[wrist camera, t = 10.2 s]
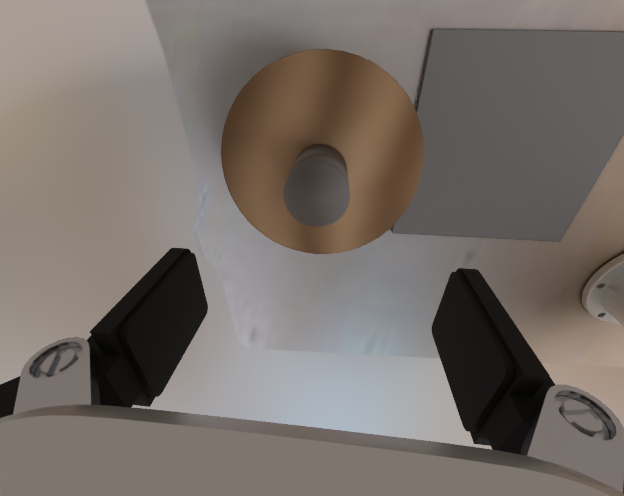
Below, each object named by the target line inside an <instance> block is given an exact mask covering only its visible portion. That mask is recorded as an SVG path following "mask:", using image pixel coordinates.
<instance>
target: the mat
mask: <svg viewBox="0 0 624 496" xmlns="http://www.w3.org/2000/svg"><path fill="white" fill-rule="evenodd" d="M416 113H417V115H418V118H419V121H420V124H421V128H422V133H423V139H424V165H423V170H422V175H421V179H420V182H419V185H418V188H417V191H416V193H415V195H414V197H413V199H412V202H411V203H410V205H409V206H408V208H407V209H406V211H405V212H404V214H403V215H402V216H401V217H400V219H399V220H398V221H397V222H396V223H395V224H394V225H393V228H392V233H402V234H422V235H441V236H461V237H480V238H499V239H519V240H538V241H558V242H560V241H561V239H562V238H563V236H564V234H565V233H566V231H567V229H568V228H569V226H570V224H571V222H572V221H573V219H574V217H575V216H576V214H577V212H578V211H579V209H580V207H581V206H582V204H583V202H584V201H585V199H586V197H587V196H588V194H589V192H590V191H591V189H592V187H593V185H594V184H595V182H596V180H597V179H598V177H599V175H600V174H601V172H602V170H603V169H604V167H605V165H606V164H607V162H608V160H609V159H610V157H611V155H612V154H613V152H614V150H615V148H616V147H617V145H618V143H619V142H620V140H621V138H622V137H623V135H624V32H585V31H521V30H457V29H433V30H432V34H431V39H430V44H429V49H428V54H427V59H426V64H425V69H424V74H423V79H422V84H421V89H420V94H419V98H418V103H417V108H416Z"/></svg>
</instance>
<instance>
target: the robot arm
mask: <svg viewBox="0 0 624 496" xmlns="http://www.w3.org/2000/svg"><path fill="white" fill-rule="evenodd" d="M582 304H583V306H584V308H585V309H586V310H587V311H588V312H589V313H590V314H591V315H592V316H593V317H594V318H596V319H598V320H600V321H603V322H607V323H612V324H622V325H623V326H624V254H621V255H620V256H618V257H616V258H614V259H613V260H611V261H609V262H608V263H607V264H605V265H604V266H603V267H601V268H600V269H599V270H598V271H597V272H596V273H595V274H594V275H593V276H592V277H591V278H590V280H589V281H588V282H587V284H586V286H585V288H584V290H583V294H582ZM207 309H208V305H207V301H206V297H205V293H204V289H203V285H202V281H201V277H200V273H199V269H198V265H197V261H196V257H195V255H194V253H191V251H190V250H189V249H182V248H171V249H170V250H169V251H168V252H167V253H166V254H165V255H164V256H163V257H162V258H161V259H160V260H159V261H158V262H157V264H155V265H154V266H153V267H152V268H151V270H150V271H149V272H148V273H147V274H146V275H145V276H144V277H143V278H142V279H141V280H140V281H139V282H138V283H137V284H136V285H135V286H134V287H133V288H132V289H131V290H130V291H129V292H128V293H127V294H126V295H125V296H124V297H123V298H122V299H121V300H120V301H119V302H118V303H117V304H116V305H115V307H113V308H112V309H111V311H110V312H108V314H107V315H106V316H105V317H104V318H103V319H102V320H101V321H100V322H99V323H98V324H97V325H96V326H95V327H94V328H93V329H92V330H91V331H90V333H91V334H92V335H91V336H90V337H89V338H88V340H87V341H86V340H85V339H84V338H78V337H73V338H66V339H62V340H59V341H56V342H54V343H52V344H50V345H48V346H46V347H44V348H43V349H41V350H40V351H38V352H37V353H36V354H35V355H33V356H32V357H31V358H30V359H29V361H28V362H27V363H26V364H25V365H24V368H23V370H22V372H21V376H20V377H17V378H15V379H12V380H10V381H8V382H6V383H3V384H1V385H0V496H624V428H623V426H622V424H621V423H620V421H619V419H618V418H617V417H616V416H615V415H614V413H613V412H612V411H611V410H610V409H609V408H608V407H606V405H604V404H603V403H602V402H601V401H600V400H598V399H597V398H595V397H593V396H592V395H590V394H589V393H587V392H585V391H583V390H580V389H578V388H576V387H572V386H568V385H555V384H554V383H553V381H552V379H551V378H550V376H549V374H548V373H547V371H546V370H545V368H544V367H543V365H542V364H541V362H540V361H539V359H538V358H537V356H536V355H535V353H534V352H533V350H532V349H531V347H530V346H529V344H528V343H527V342H526V340H525V339H524V337H523V336H522V334H521V333H520V331H519V330H518V328H517V327H516V325H515V324H514V322H513V321H512V319H511V318H510V316H509V315H508V313H507V312H506V310H505V309H504V307H503V306H502V304H501V303H500V301H499V300H498V299H497V297H496V296H495V294H494V293H493V291H492V290H491V288H490V287H489V285H488V284H487V282H486V281H485V279H484V278H483V276H482V275H481V273H480V272H479V271H478V270H476V269H463V268H459V269H458V270H457V271H456V272H452V273H451V275H450V278H449V280H448V283H447V286H446V289H445V291H444V294H443V297H442V300H441V302H440V305H439V308H438V311H437V313H436V316H435V319H434V322H433V325H432V334H433V338H434V341H435V344H436V347H437V350H438V353H439V356H440V359H441V361H442V364H443V367H444V370H445V373H446V376H447V379H448V382H449V385H450V388H451V391H452V394H453V397H454V400H455V403H456V406H457V409H458V412H459V415H460V418H461V421H462V424H463V426H464V428H465V430H466V431H470V433H471V436H472V439H473V442H474V444H481V445H490V446H491V447H492V450H490V449H483V448H475V447H469V446H461V445H454V444H447V443H439V442H431V441H423V440H415V439H407V438H398V437H390V436H382V435H373V434H365V433H357V432H348V431H340V430H331V429H322V428H314V427H305V426H297V425H288V424H279V423H271V422H262V421H253V420H243V419H235V418H226V417H216V416H208V415H198V414H189V413H180V412H171V411H162V410H151V409H141V408H131V407H132V405H133V404H134V405H140V406H150V405H151V404H152V402H153V400H154V398H155V397H157V396H159V395H160V394H161V393H162V392H163V390H164V388H165V386H166V385H167V383H168V381H169V379H170V378H171V376H172V374H173V372H174V370H175V369H176V367H177V365H178V364H179V362H180V360H181V358H182V356H183V354H184V353H185V351H186V349H187V347H188V346H189V344H190V342H191V340H192V339H193V337H194V335H195V333H196V332H197V330H198V328H199V326H200V325H201V323H202V321H203V319H204V318H205V316H206V313H207Z"/></svg>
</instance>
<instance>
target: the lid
mask: <svg viewBox="0 0 624 496" xmlns="http://www.w3.org/2000/svg"><path fill="white" fill-rule="evenodd" d="M221 157H222V167H223V172H224V177H225V181H226V184H227V187H228V190H229V192H230V194H231V196H232V198H233V200H234V202H235V204H236V205H237V207H238V208H239V210H240V211H241V213H242V214H243V215H244V216H245V218H246V219H247V220H248V221H249V222H250V223H251V224H252V225H253V226H254V227H255V228H256V229H257V230H258V231H260V232H261V233H262V234H263V235H265V236H266V237H268V238H270V239H271V240H273V241H274V242H277V243H279V244H281V245H283V246H285V247H288V248H291V249H293V250H297V251H301V252H306V253H314V254H331V253H339V252H344V251H349V250H352V249H355V248H358V247H361V246H363V245H365V244H367V243H370V242H371V241H373V240H375V239H376V238H378V237H380V236H381V235H382V234H384V233H385V232H386V231H387V230H389V229H390V228H391V227H392V226H393V225H394V224H395V223H396V222H397V221H398V220H399V219H400V217H401V216H402V215H403V214H404V212H405V211H406V209H407V208H408V206H409V205H410V203H411V202H412V199H413V197H414V195H415V193H416V191H417V188H418V185H419V182H420V179H421V175H422V170H423V165H424V139H423V133H422V128H421V124H420V121H419V118H418V115H417V113H416V110H415V108H414V106H413V104H412V102H411V100H410V99H409V97H408V95H407V94H406V92H405V91H404V90H403V89H402V87H401V86H400V85H399V83H398V82H397V81H396V80H395V79H394V78H392V77H391V76H390V75H389V74H388V73H387V72H386V71H385V70H383V69H382V68H380V67H379V66H377V65H376V64H374V63H373V62H371V61H369V60H367V59H364V58H362V57H360V56H358V55H354V54H351V53H348V52H344V51H338V50H330V49H318V50H307V51H302V52H297V53H294V54H291V55H288V56H285V57H283V58H280V59H278V60H277V61H275V62H273V63H271V64H269V65H268V66H266V67H265V68H264V69H262V70H261V71H260V72H258V73H257V74H256V75H255V76H254V77H253V78H252V79H251V80H250V81H249V82H248V83H247V84H246V85H245V86H244V87H243V89H242V90H241V92H240V93H239V95H238V96H237V97H236V99H235V101H234V103H233V105H232V107H231V109H230V111H229V113H228V116H227V119H226V122H225V125H224V131H223V136H222V147H221Z"/></svg>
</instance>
